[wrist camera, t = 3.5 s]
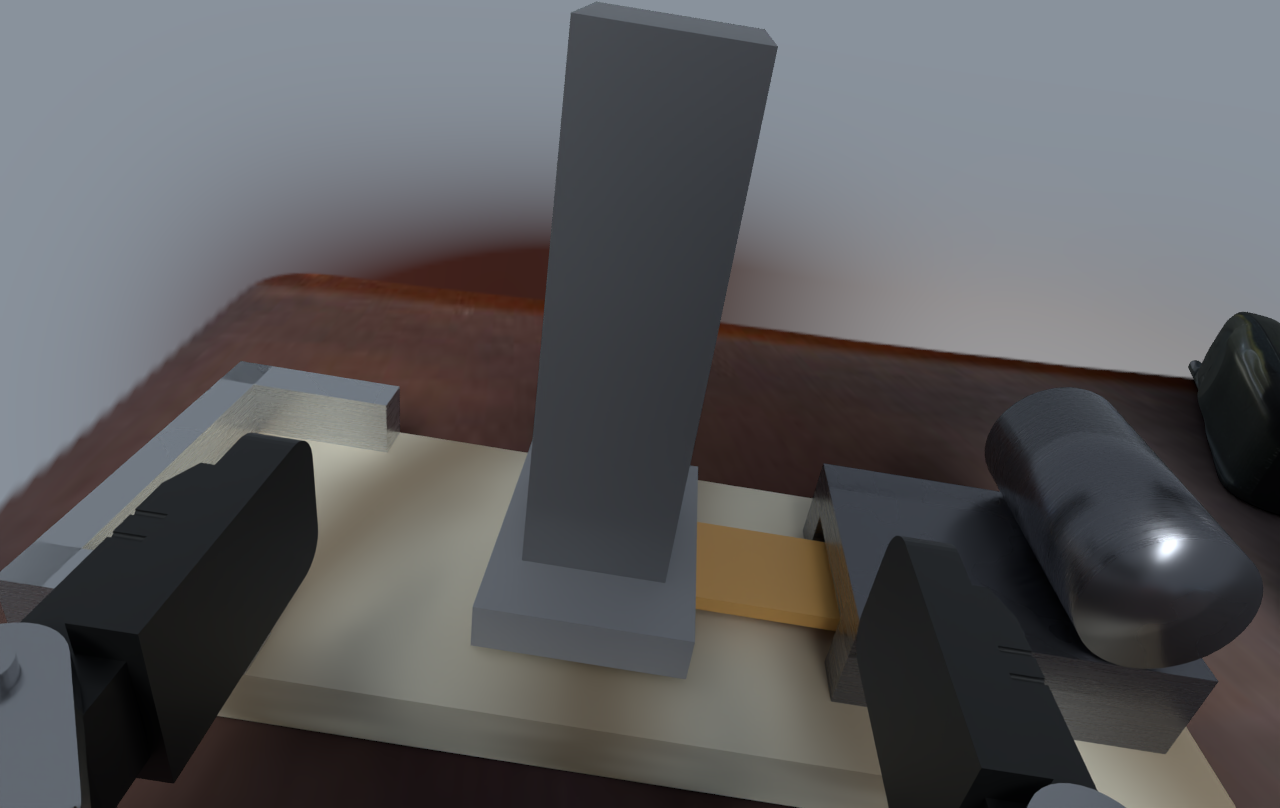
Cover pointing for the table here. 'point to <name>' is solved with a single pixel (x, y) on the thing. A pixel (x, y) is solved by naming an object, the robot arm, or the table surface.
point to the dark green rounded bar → (1244, 407)
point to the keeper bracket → (205, 459)
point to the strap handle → (640, 361)
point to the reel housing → (1061, 564)
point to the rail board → (571, 691)
